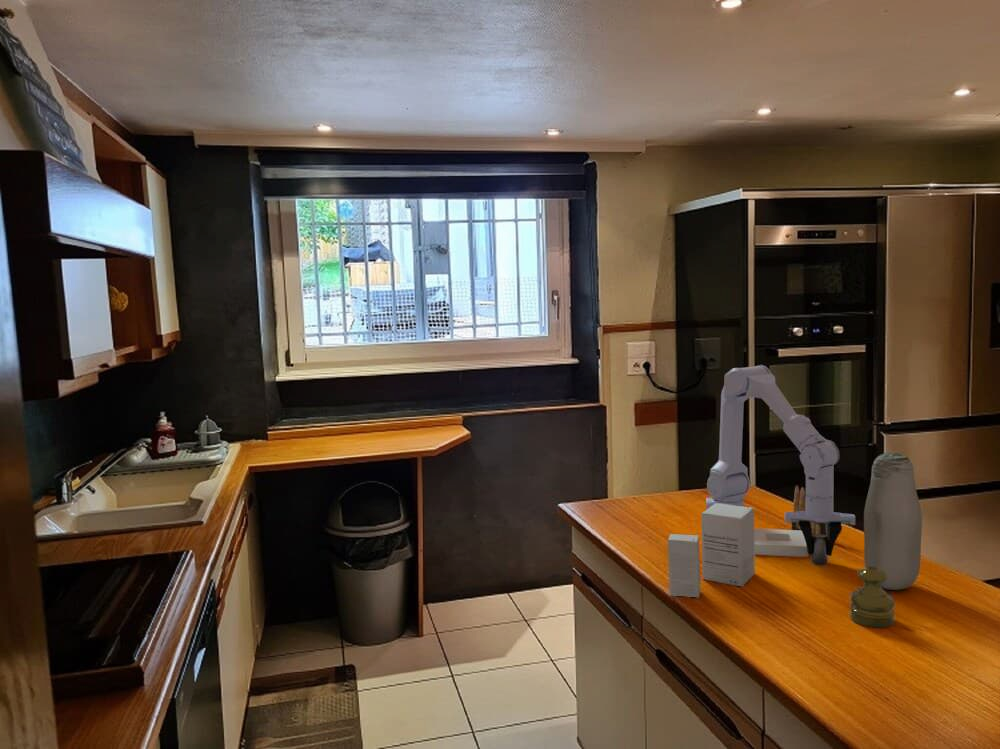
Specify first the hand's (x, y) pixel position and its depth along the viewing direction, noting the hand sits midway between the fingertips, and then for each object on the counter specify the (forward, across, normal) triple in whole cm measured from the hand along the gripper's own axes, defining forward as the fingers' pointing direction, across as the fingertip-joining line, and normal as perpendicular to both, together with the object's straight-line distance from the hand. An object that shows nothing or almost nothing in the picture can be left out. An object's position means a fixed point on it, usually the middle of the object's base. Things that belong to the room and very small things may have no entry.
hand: (819, 553), depth 170 cm
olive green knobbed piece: (+2, +5, -30) cm, 30 cm away
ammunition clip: (+2, +1, +19) cm, 19 cm away
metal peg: (+2, 0, 0) cm, 2 cm away
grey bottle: (+2, +12, -13) cm, 18 cm away
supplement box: (+2, -20, -12) cm, 23 cm away
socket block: (+2, -8, +9) cm, 12 cm away
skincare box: (+2, -29, -23) cm, 37 cm away
